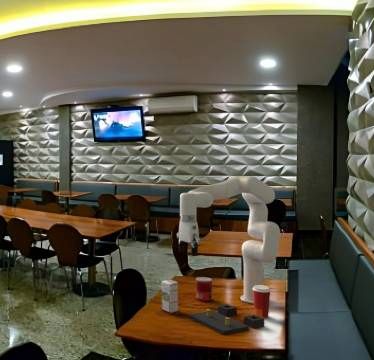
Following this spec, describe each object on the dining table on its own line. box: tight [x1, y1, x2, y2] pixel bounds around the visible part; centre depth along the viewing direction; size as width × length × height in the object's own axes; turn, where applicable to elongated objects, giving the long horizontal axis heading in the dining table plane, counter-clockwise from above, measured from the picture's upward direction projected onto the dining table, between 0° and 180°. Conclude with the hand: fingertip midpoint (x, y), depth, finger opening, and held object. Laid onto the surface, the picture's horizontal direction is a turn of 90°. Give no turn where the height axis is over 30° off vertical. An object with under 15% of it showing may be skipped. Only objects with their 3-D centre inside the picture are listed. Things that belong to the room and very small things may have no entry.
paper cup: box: [253, 285, 272, 319], centre depth 209 cm, size 8×8×14 cm
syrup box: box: [161, 279, 179, 314], centre depth 219 cm, size 6×6×14 cm
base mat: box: [188, 308, 250, 336], centre depth 201 cm, size 14×22×4 cm, turn 21°
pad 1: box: [217, 303, 238, 317], centre depth 213 cm, size 6×6×4 cm
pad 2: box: [243, 314, 265, 329], centre depth 198 cm, size 6×6×4 cm
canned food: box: [195, 276, 213, 302], centre depth 235 cm, size 8×8×11 cm
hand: (188, 253), depth 214 cm, fingers open, 9 cm apart
